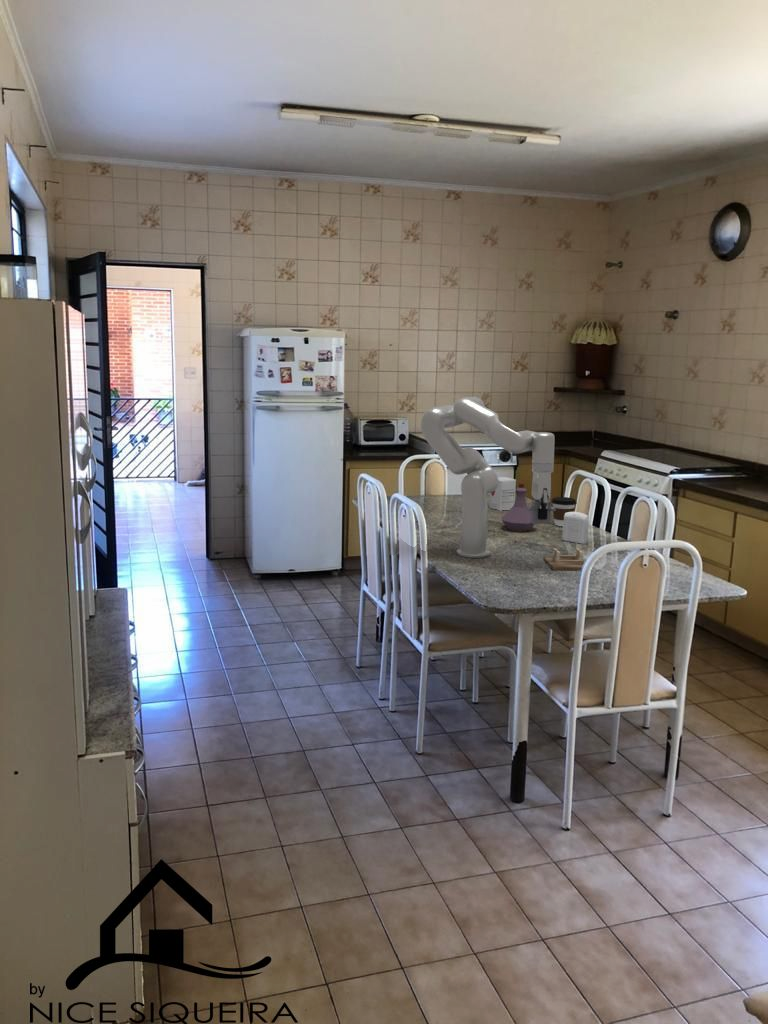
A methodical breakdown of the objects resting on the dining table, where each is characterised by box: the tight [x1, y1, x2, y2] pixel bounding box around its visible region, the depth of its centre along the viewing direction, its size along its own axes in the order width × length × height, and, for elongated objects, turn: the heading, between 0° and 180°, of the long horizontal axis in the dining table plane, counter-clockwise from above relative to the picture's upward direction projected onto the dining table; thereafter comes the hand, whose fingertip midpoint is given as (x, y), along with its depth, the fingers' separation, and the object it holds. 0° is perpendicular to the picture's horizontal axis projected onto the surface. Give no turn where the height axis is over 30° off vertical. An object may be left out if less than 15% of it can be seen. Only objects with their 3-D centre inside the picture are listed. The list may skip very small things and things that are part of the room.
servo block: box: [527, 499, 556, 525], centre depth 291 cm, size 4×10×9 cm, turn 92°
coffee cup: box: [550, 496, 577, 527], centre depth 359 cm, size 11×11×12 cm
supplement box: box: [488, 476, 517, 512], centre depth 391 cm, size 9×9×15 cm
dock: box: [543, 547, 585, 571], centre depth 296 cm, size 14×14×6 cm
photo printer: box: [561, 511, 590, 545], centre depth 330 cm, size 10×4×12 cm, turn 56°
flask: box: [500, 482, 536, 532], centre depth 350 cm, size 16×16×20 cm
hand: (540, 517), depth 292 cm, fingers closed on servo block, 4 cm apart
